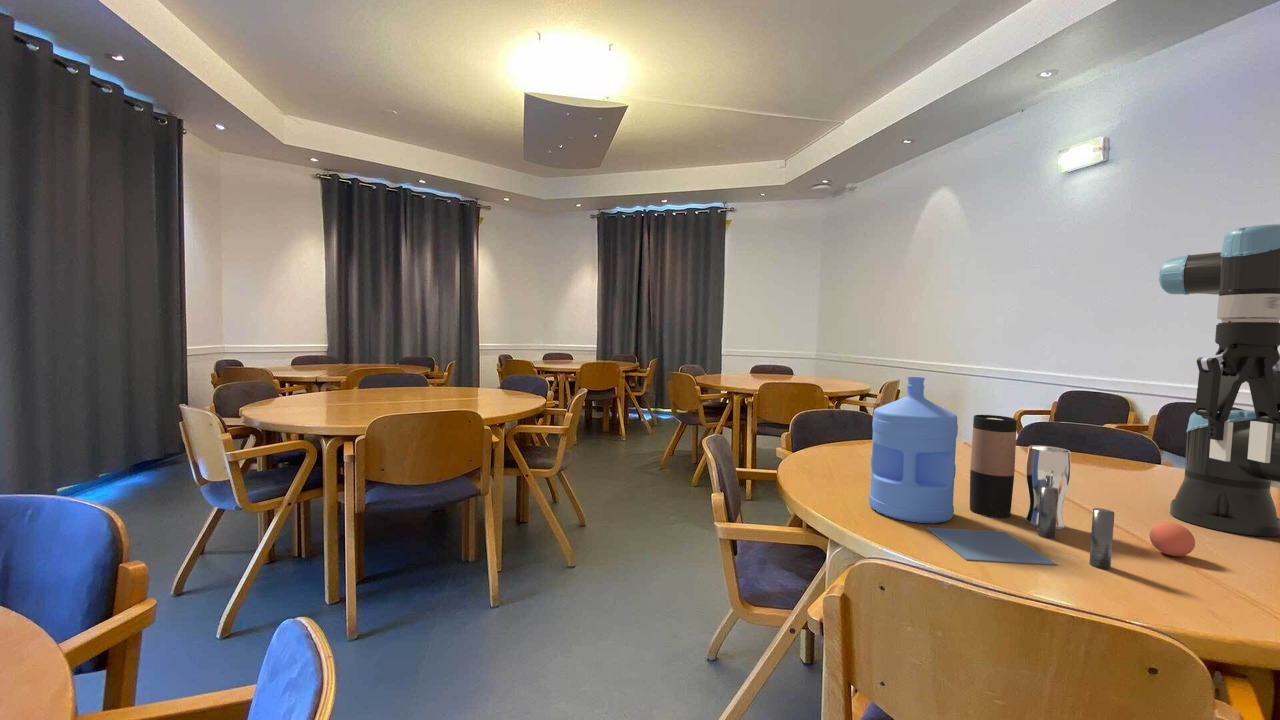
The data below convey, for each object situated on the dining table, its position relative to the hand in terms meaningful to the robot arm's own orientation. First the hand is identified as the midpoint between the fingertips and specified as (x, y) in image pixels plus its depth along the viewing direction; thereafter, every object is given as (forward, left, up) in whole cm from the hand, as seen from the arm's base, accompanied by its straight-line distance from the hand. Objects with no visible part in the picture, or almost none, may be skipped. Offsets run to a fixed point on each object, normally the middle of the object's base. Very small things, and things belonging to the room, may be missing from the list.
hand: (1238, 459), depth 89 cm
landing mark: (+39, 0, -17) cm, 43 cm away
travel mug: (+28, -19, -17) cm, 38 cm away
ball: (+9, 0, -14) cm, 17 cm away
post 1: (+25, -6, -17) cm, 31 cm away
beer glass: (+21, -13, -17) cm, 30 cm away
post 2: (+25, +6, -17) cm, 31 cm away
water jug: (+45, -17, -17) cm, 51 cm away
